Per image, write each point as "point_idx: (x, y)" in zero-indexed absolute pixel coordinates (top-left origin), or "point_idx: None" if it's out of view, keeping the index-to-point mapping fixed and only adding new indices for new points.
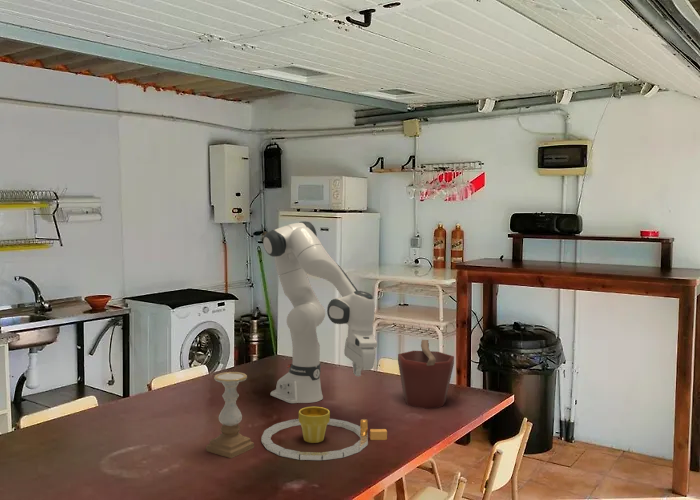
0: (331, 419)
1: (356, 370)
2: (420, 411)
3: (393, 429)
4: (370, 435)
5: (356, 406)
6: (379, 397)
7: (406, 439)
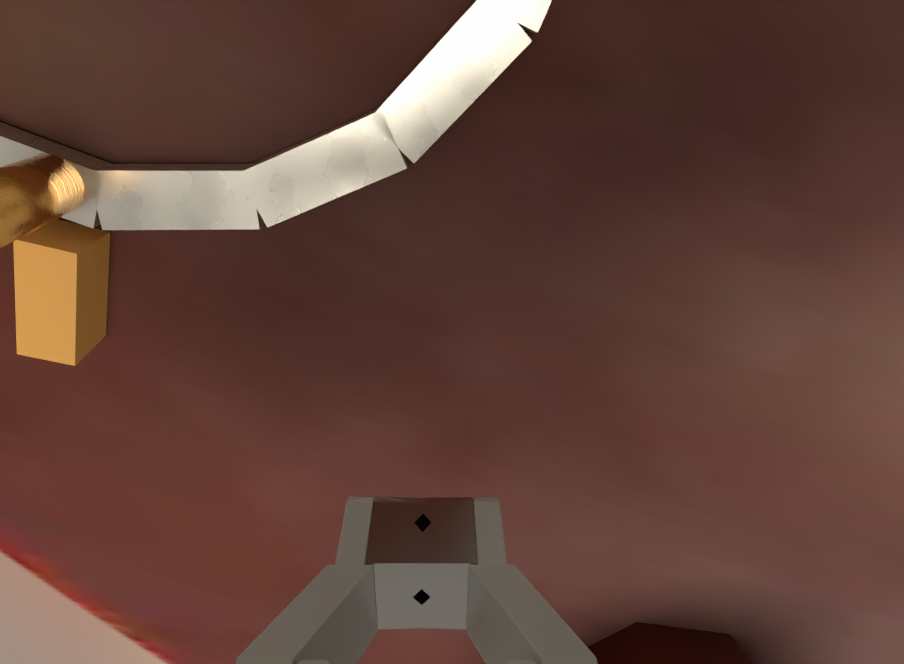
0: (494, 49)
1: (322, 582)
2: None
3: (260, 429)
4: (50, 231)
5: (771, 375)
6: (838, 545)
7: (67, 435)
